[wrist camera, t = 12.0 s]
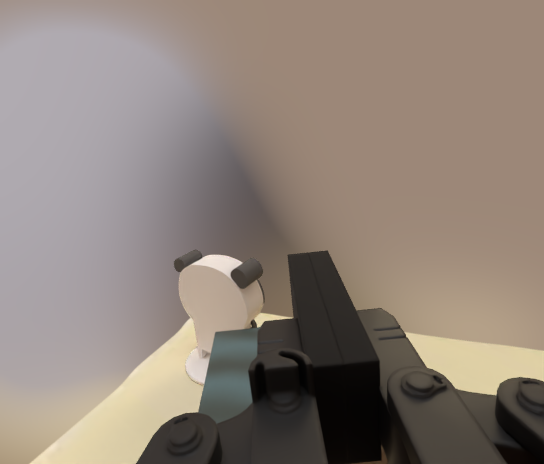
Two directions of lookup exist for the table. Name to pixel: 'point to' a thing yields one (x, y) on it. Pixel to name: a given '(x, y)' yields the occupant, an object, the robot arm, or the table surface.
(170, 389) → the table surface
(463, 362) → the table surface
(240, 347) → the lid
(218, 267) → the panda figurine
